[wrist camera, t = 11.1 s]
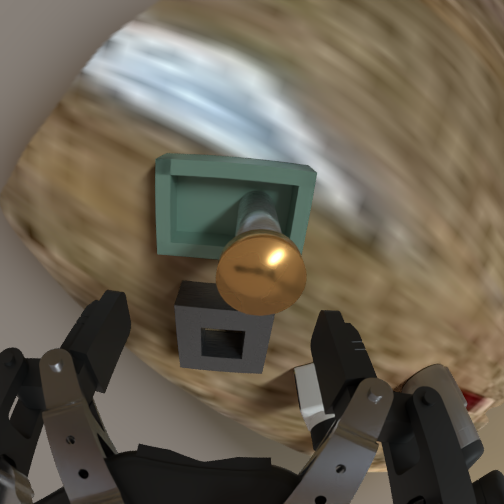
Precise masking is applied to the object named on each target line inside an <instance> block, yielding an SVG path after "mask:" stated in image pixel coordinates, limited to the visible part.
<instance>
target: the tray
mask: <svg viewBox="0 0 504 504" xmlns="http://www.w3.org/2000/svg"><path fill="white" fill-rule="evenodd" d="M316 176H317V172H316V171H314V170H313V169H312V168H311V167H310V166H308V165H301V164H294V163H287V162H279V161H270V160H261V159H252V158H241V157H229V156H215V155H198V154H172V153H166V154H164V155H162V156H160V157H158V158H157V159H156V168H155V203H156V236H157V254H162V255H173V256H184V257H196V258H207V259H219V258H220V255H221V252H222V250H223V249H224V247H225V246H226V245H227V243H228V242H229V241H230V240H232V239H233V238H234V237H235V234H236V225H237V217H238V209H239V203H240V200H241V199H242V197H243V196H244V195H245V194H247V193H248V192H251V191H262V192H265V193H267V194H268V195H269V196H270V197H271V198H272V200H273V202H274V206H275V210H276V213H277V217H278V221H279V225H280V229H281V233H282V234H283V235H285V236H287V237H288V238H289V239H291V240H292V241H293V242H294V243H295V245H296V246H297V247H298V249H299V251H300V253H301V255H302V250H303V245H304V240H305V235H306V230H307V225H308V220H309V215H310V209H311V204H312V199H313V193H314V187H315V182H316Z"/></svg>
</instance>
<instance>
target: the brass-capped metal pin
mask: <svg viewBox="0 0 504 504" xmlns="http://www.w3.org/2000/svg"><path fill="white" fill-rule="evenodd" d="M306 276H307V274H306V269H305V265H304V262H303V259H302V256H301V253H300V251H299V249H298V247H297V246H296V245H295V243H294V242H293V241H292V240H291V239H289V238H288V237H287V236H285V235H283V234H282V233H281V229H280V225H279V221H278V217H277V213H276V210H275V206H274V202H273V200H272V198H271V197H270V196H269V195H268V194H267V193H265V192H262V191H251V192H248V193H247V194H245V195H244V196H243V197H242V199H241V200H240V203H239V209H238V217H237V225H236V234H235V237H234V238H233V239H232V240H230V241H229V242H228V243H227V245H226V246H225V247H224V249H223V250H222V252H221V255H220V258H219V262H218V267H217V272H216V284H217V288H218V291H219V293H220V295H221V297H222V298H223V299H224V300H225V302H226V303H227V304H229V305H230V306H231V307H233V308H234V309H236V310H238V311H240V312H242V313H245V314H249V315H256V316H263V315H271V314H275V313H278V312H281V311H283V310H285V309H287V308H288V307H290V306H291V305H292V304H294V303H295V302H296V301H297V300H298V298H299V297H300V296H301V294H302V292H303V290H304V288H305V285H306Z"/></svg>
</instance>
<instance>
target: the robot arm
mask: <svg viewBox="0 0 504 504" xmlns="http://www.w3.org/2000/svg"><path fill="white" fill-rule="evenodd" d="M130 329H131V320H130V315H129V310H128V305H127V300H126V295H125V293H124V292H119V291H112V290H107V291H106V292H105V293H104V294H103V296H102V297H101V299H100V300H99V301H98V300H95V301H93V302H92V303H91V304H89V305H88V306H87V307H86V308H85V310H84V311H83V313H82V314H81V317H79V319H78V320H77V323H76V324H75V325H74V326H73V328H72V329H71V331H70V333H69V334H68V336H67V337H66V339H65V341H64V342H63V344H62V345H61V347H60V348H56V349H52V350H49V351H47V352H46V353H45V354H44V355H43V356H42V357H41V358H40V359H38V358H24V356H23V354H22V352H21V351H20V350H19V349H17V348H7V349H5V350H4V351H2V352H1V353H0V504H350V502H351V500H352V499H353V497H354V495H355V493H356V492H357V490H358V488H359V486H360V484H361V483H362V481H363V479H364V477H365V475H366V473H367V471H368V469H369V467H370V465H371V463H372V461H373V459H374V457H375V455H376V452H377V450H378V446H379V444H378V443H376V441H380V442H381V443H382V447H383V452H384V456H385V461H386V466H387V471H388V476H389V481H390V487H391V493H392V499H393V504H504V476H503V474H502V473H501V472H500V471H498V470H493V471H491V472H489V473H488V474H486V475H485V476H483V477H481V478H480V479H479V480H476V481H475V482H473V483H472V482H471V479H470V475H469V472H468V469H469V468H470V467H471V466H472V465H473V464H474V463H475V462H476V461H477V460H478V459H479V458H480V457H481V455H482V454H483V452H484V447H483V444H482V442H481V440H480V438H479V435H478V433H477V431H476V429H475V426H474V424H473V422H472V420H471V418H470V416H469V414H468V412H467V410H466V408H465V407H466V406H467V402H466V400H465V398H464V396H463V394H462V392H461V390H460V389H459V387H458V385H457V383H456V381H455V379H454V378H453V376H452V374H451V372H450V371H449V369H448V367H443V365H441V364H437V365H432V366H429V367H427V368H425V369H423V370H422V371H420V372H418V373H417V374H416V375H414V376H413V377H412V378H411V379H410V380H408V381H407V383H406V384H405V385H404V387H403V389H402V393H400V392H395V391H393V390H392V388H391V387H390V386H389V384H388V383H386V382H385V381H383V380H381V379H379V378H377V376H376V373H375V371H374V368H373V366H372V363H371V361H370V358H369V356H368V354H367V351H366V350H365V346H364V344H363V343H362V339H361V337H360V335H359V332H358V331H357V330H356V329H355V328H354V327H353V326H352V325H351V323H345V322H344V320H343V317H342V315H341V313H340V311H330V310H321V311H320V313H319V316H318V319H317V322H316V326H315V329H314V332H313V335H312V338H311V353H312V357H313V362H314V366H315V371H316V375H317V380H318V384H319V389H320V393H321V398H322V403H323V407H324V412H325V415H327V414H335V419H336V420H335V422H334V423H333V425H332V426H331V428H330V430H329V431H328V433H327V434H326V436H325V437H324V439H323V441H322V442H321V444H320V445H319V447H318V448H317V450H316V451H315V453H314V454H313V455H312V457H311V458H310V459H309V461H308V462H307V463H306V465H305V466H304V467H303V469H302V470H301V471H300V472H299V474H298V475H297V474H295V473H293V472H292V471H290V470H287V469H285V468H282V467H279V466H276V465H271V458H250V457H249V458H248V457H236V458H229V459H223V460H215V461H209V462H208V461H207V462H202V461H198V460H195V459H192V458H190V457H187V456H184V455H181V454H179V453H176V452H174V451H171V450H168V449H162V448H157V447H152V446H147V445H143V444H139V445H138V449H137V451H127V452H123V453H118V452H117V450H116V448H115V446H114V445H113V443H112V441H111V440H110V438H109V436H108V433H107V431H106V429H105V427H104V424H103V422H102V419H101V417H100V414H99V412H98V409H97V406H96V404H95V401H94V399H93V395H94V393H95V391H97V392H101V393H105V392H106V389H107V386H108V384H109V381H110V379H111V376H112V374H113V371H114V369H115V366H116V364H117V362H118V359H119V357H120V354H121V352H122V350H123V347H124V345H125V343H126V341H127V338H128V336H129V333H130ZM16 396H17V397H18V398H19V399H18V401H17V404H16V406H15V408H14V410H13V413H12V415H11V418H10V420H9V417H8V416H9V411H10V409H11V407H12V405H13V402H14V400H15V398H16ZM43 424H44V426H45V430H46V434H47V438H48V441H49V445H50V448H51V452H52V455H53V458H54V461H55V464H56V467H57V470H58V473H59V475H60V478H61V481H62V483H63V487H62V488H60V489H58V490H57V491H55V492H53V493H51V494H50V495H48V496H46V497H45V498H43V499H41V500H39V501H37V502H35V503H33V502H32V498H33V497H34V491H33V489H32V488H31V484H30V482H29V480H28V478H27V477H28V474H29V470H30V466H31V462H32V458H33V455H34V452H35V449H36V445H37V442H38V439H39V436H40V433H41V430H42V427H43Z"/></svg>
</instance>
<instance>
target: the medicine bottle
mask: <svg viewBox="0 0 504 504" xmlns="http://www.w3.org/2000/svg"><path fill="white" fill-rule="evenodd" d="M294 376H295V382H296V389H297V395H298V401H299V408H300V412H301V414H302V416H303V419H304V421H305V423H306V425H307V428H308V430H309V431H311V437H312V443H313V449H314V450H315V451H316V450H317V448H318V447H319V445H320V444H321V442H322V441H323V439H324V437H325V436H326V434H327V433H328V431H329V430H330V428H331V426H332V425H333V423H334V422H335V420H336V419H335V414H327V415H325V412H324V407H323V403H322V398H321V393H320V389H319V384H318V380H317V375H316V371H315V366H314V363H311V364H307V365H303V366H300V367H296V368H294Z"/></svg>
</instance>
